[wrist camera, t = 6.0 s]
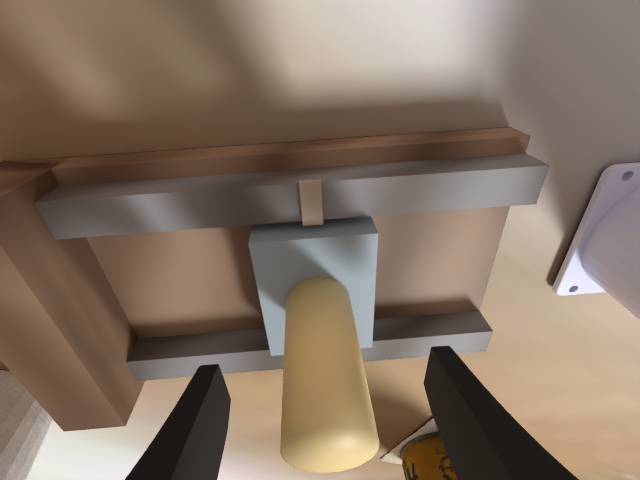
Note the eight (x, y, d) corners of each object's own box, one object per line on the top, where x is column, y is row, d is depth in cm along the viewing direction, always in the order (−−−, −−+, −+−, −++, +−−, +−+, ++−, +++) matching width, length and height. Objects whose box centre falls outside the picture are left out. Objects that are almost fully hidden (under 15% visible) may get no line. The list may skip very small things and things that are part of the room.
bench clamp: (509, 127, 14) (598, 165, 10) (460, 320, 21) (502, 392, 17) (1, 161, 14) (-128, 217, 10) (112, 348, 20) (63, 431, 16)
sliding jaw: (368, 209, 14) (433, 368, 7) (365, 317, 18) (406, 490, 11) (254, 218, 14) (215, 387, 7) (273, 325, 18) (259, 505, 11)
